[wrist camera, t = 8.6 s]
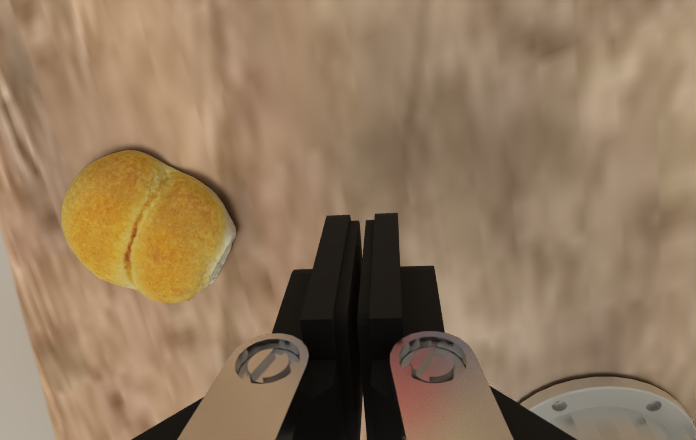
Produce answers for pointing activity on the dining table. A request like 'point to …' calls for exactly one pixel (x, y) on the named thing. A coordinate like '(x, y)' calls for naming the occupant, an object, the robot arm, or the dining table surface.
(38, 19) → the dining table surface
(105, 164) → the bread roll
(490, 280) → the dining table surface
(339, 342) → the robot arm
